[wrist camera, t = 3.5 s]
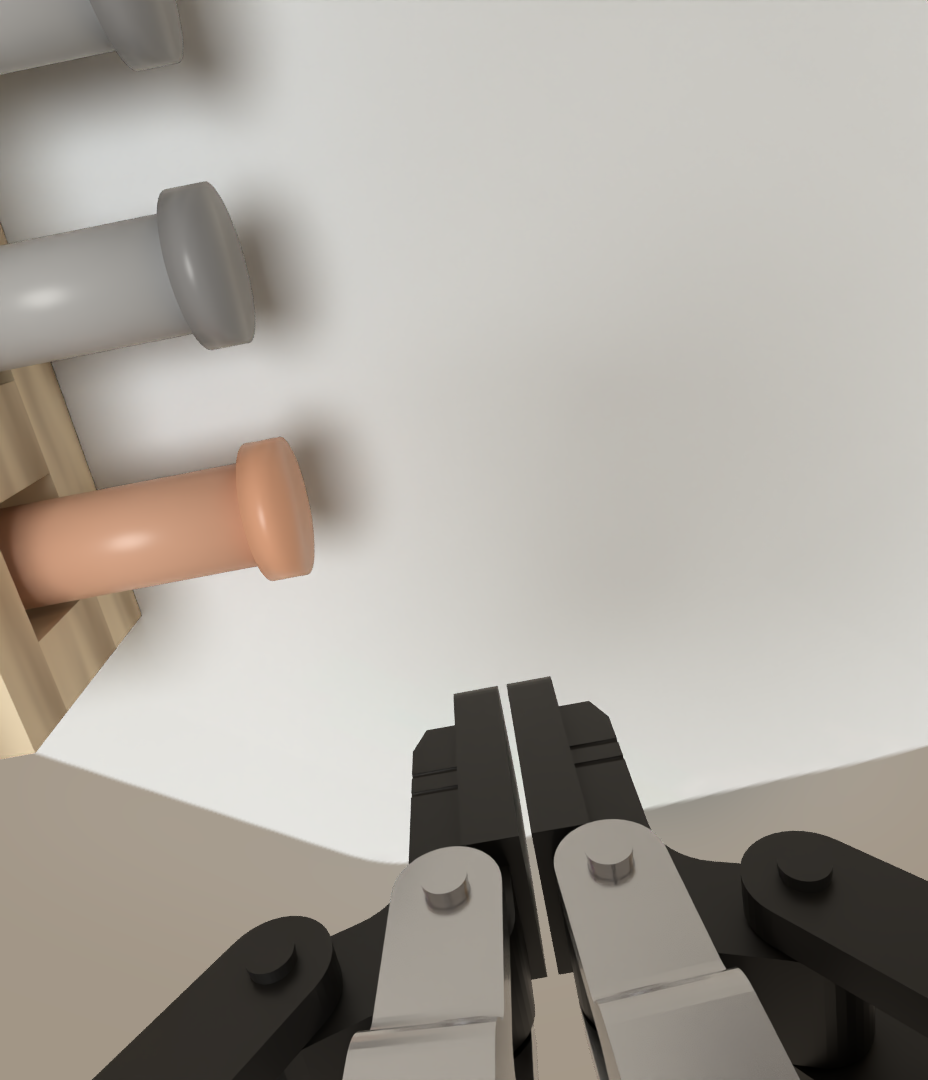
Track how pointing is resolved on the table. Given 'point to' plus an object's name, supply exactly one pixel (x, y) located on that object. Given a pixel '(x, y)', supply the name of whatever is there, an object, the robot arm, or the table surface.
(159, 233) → the grey dowel
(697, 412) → the table surface
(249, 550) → the dowel terracotta
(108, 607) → the socket rail
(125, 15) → the grey dowel
